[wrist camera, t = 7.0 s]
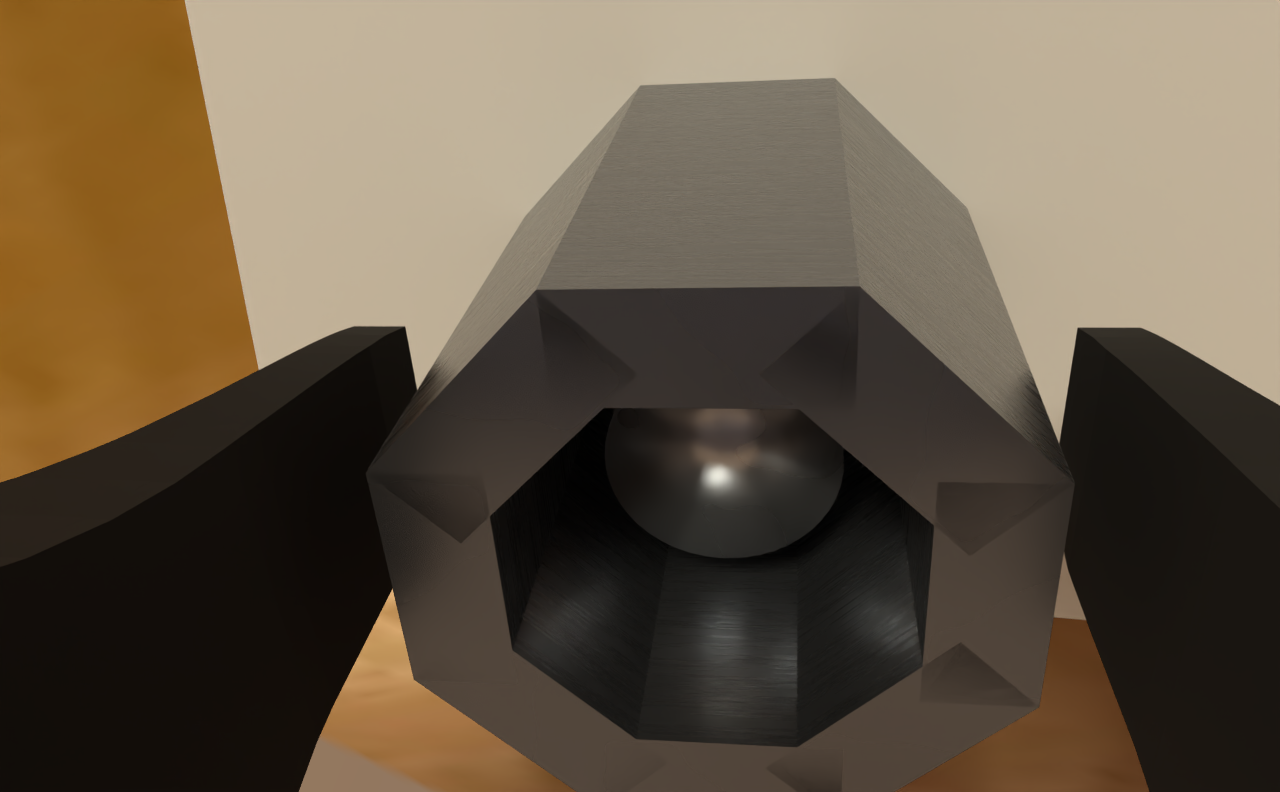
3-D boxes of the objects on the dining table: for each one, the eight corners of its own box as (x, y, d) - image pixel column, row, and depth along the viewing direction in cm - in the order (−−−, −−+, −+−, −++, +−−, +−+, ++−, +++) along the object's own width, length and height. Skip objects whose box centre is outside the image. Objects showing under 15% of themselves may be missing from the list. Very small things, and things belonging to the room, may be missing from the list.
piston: (841, 215, 13) (855, 367, 10) (824, 382, 15) (832, 567, 11) (651, 206, 14) (602, 350, 10) (650, 370, 15) (605, 548, 11)
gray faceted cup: (978, 72, 12) (1107, 283, 7) (944, 474, 15) (1018, 834, 10) (509, 90, 13) (323, 292, 8) (556, 469, 16) (442, 798, 11)
